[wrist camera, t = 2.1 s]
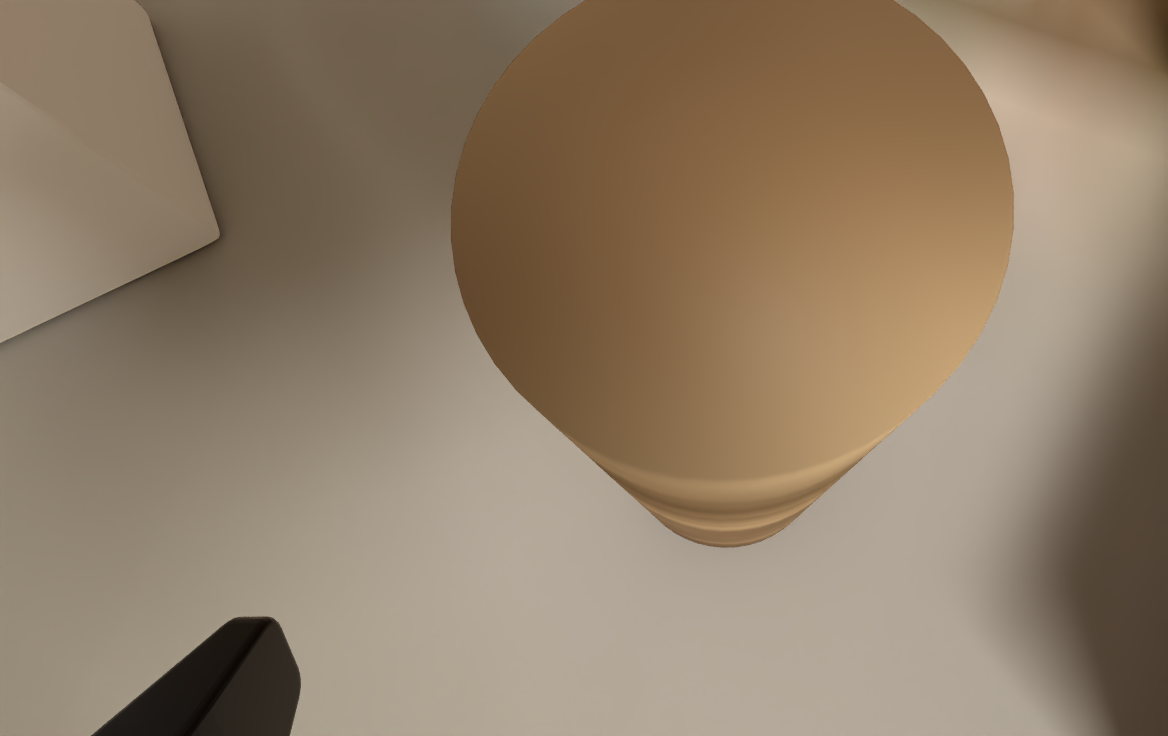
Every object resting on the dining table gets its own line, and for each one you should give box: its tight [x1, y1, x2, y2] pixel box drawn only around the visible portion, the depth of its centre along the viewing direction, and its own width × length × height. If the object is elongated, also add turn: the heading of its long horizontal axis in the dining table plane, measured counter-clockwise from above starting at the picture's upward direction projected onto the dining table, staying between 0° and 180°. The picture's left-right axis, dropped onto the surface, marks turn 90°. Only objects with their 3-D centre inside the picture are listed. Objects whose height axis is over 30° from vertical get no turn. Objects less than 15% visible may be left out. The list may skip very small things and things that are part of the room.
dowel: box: [451, 0, 1014, 547], centre depth 13 cm, size 4×4×13 cm
